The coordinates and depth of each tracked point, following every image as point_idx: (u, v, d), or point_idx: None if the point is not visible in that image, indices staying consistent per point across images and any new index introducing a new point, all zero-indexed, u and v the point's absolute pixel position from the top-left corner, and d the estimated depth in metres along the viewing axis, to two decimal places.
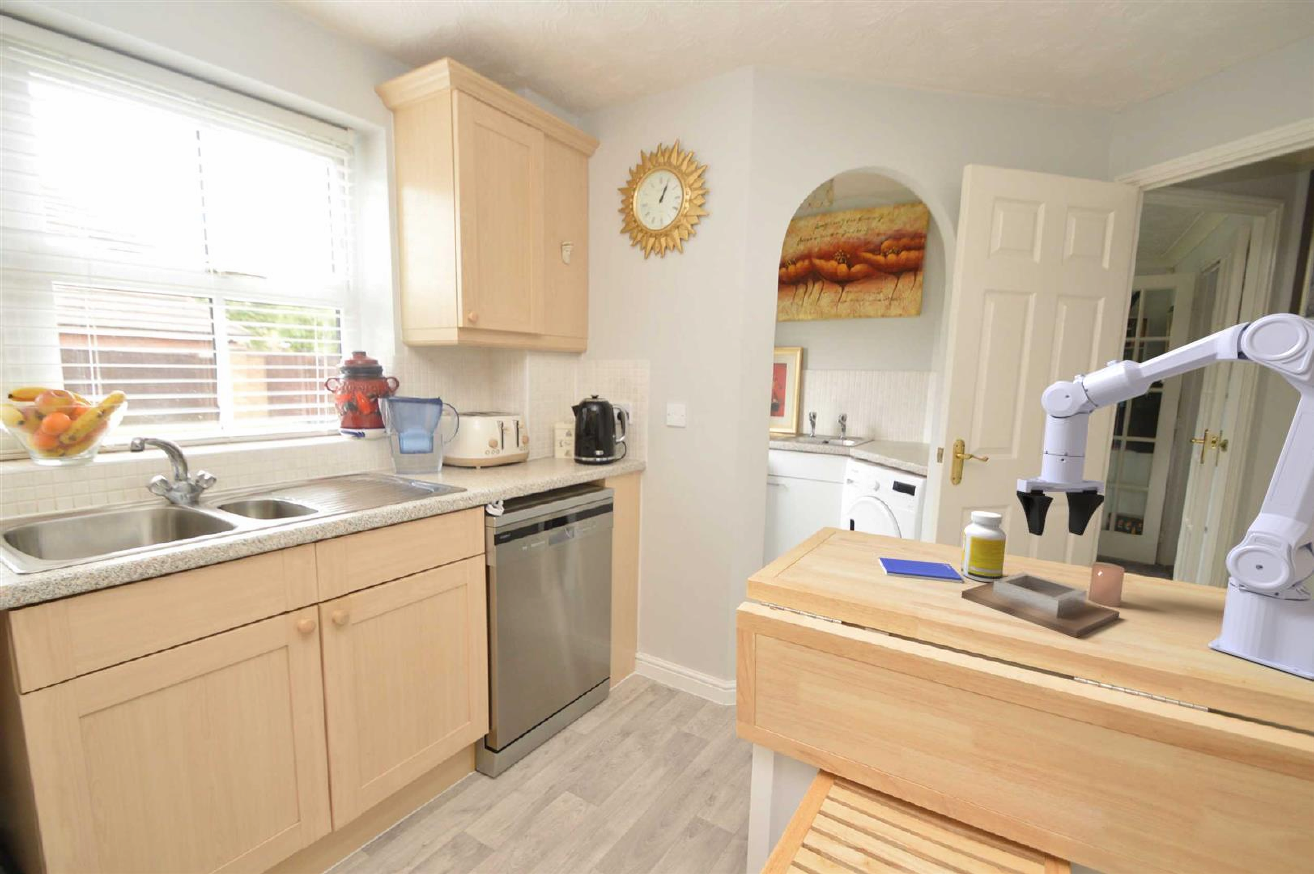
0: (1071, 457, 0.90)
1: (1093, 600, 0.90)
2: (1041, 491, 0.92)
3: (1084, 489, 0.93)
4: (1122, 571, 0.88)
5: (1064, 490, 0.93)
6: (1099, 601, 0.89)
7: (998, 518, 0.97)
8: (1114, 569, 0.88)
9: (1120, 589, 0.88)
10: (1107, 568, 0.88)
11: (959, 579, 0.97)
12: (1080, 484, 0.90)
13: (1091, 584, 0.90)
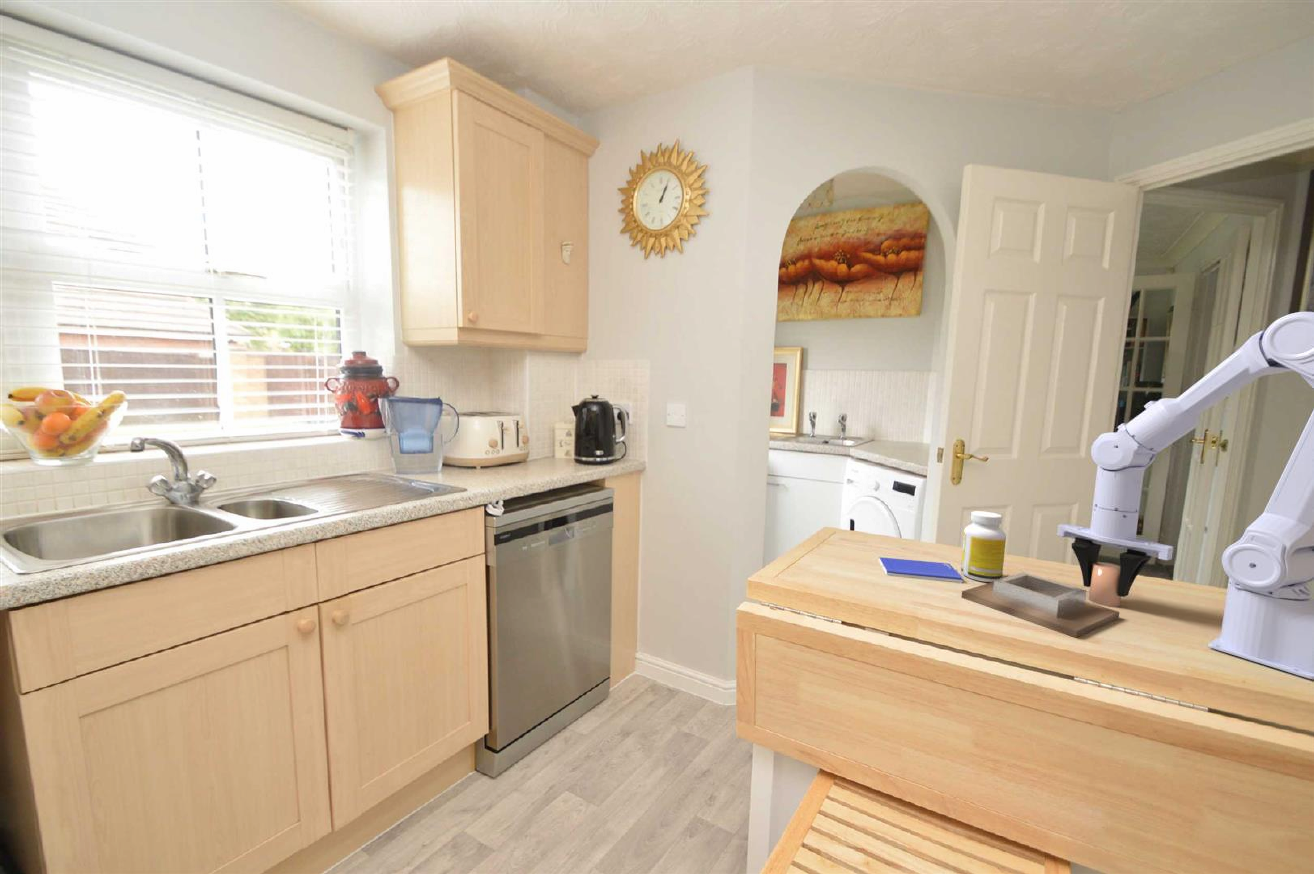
0: (1100, 509, 0.88)
1: (1093, 600, 0.90)
2: (1077, 539, 0.92)
3: (1142, 551, 0.85)
4: None
5: (1113, 546, 0.89)
6: (1099, 601, 0.89)
7: (998, 518, 0.97)
8: (1114, 569, 0.88)
9: None
10: (1107, 568, 0.88)
11: (959, 579, 0.97)
12: (1109, 538, 0.87)
13: (1091, 584, 0.90)
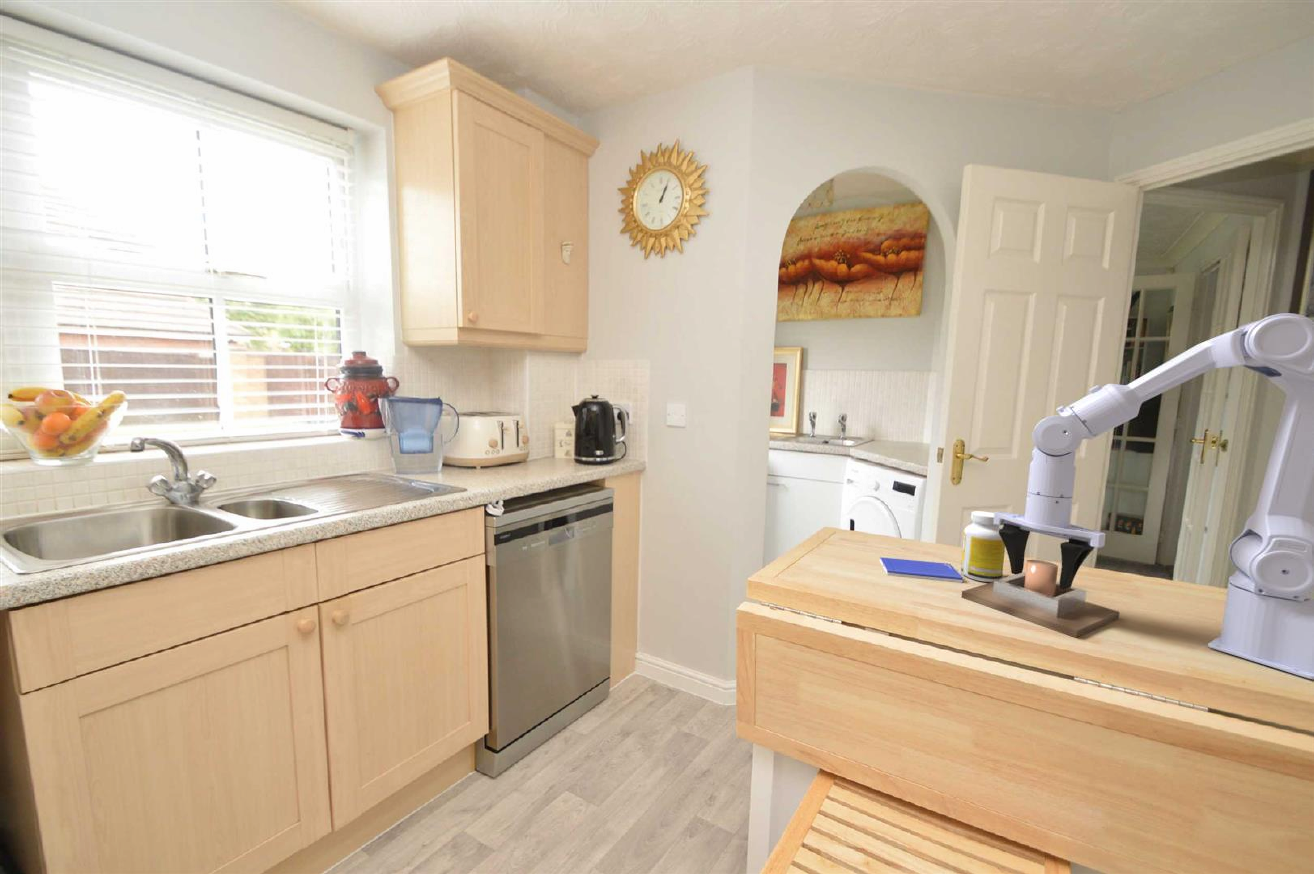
0: (1033, 495, 0.84)
1: None
2: (1013, 527, 0.89)
3: (1075, 538, 0.82)
4: (1055, 569, 0.84)
5: (1047, 533, 0.85)
6: None
7: None
8: (1047, 567, 0.84)
9: (1053, 588, 0.85)
10: (1040, 566, 0.85)
11: (960, 579, 0.97)
12: (1042, 525, 0.83)
13: (1025, 582, 0.87)
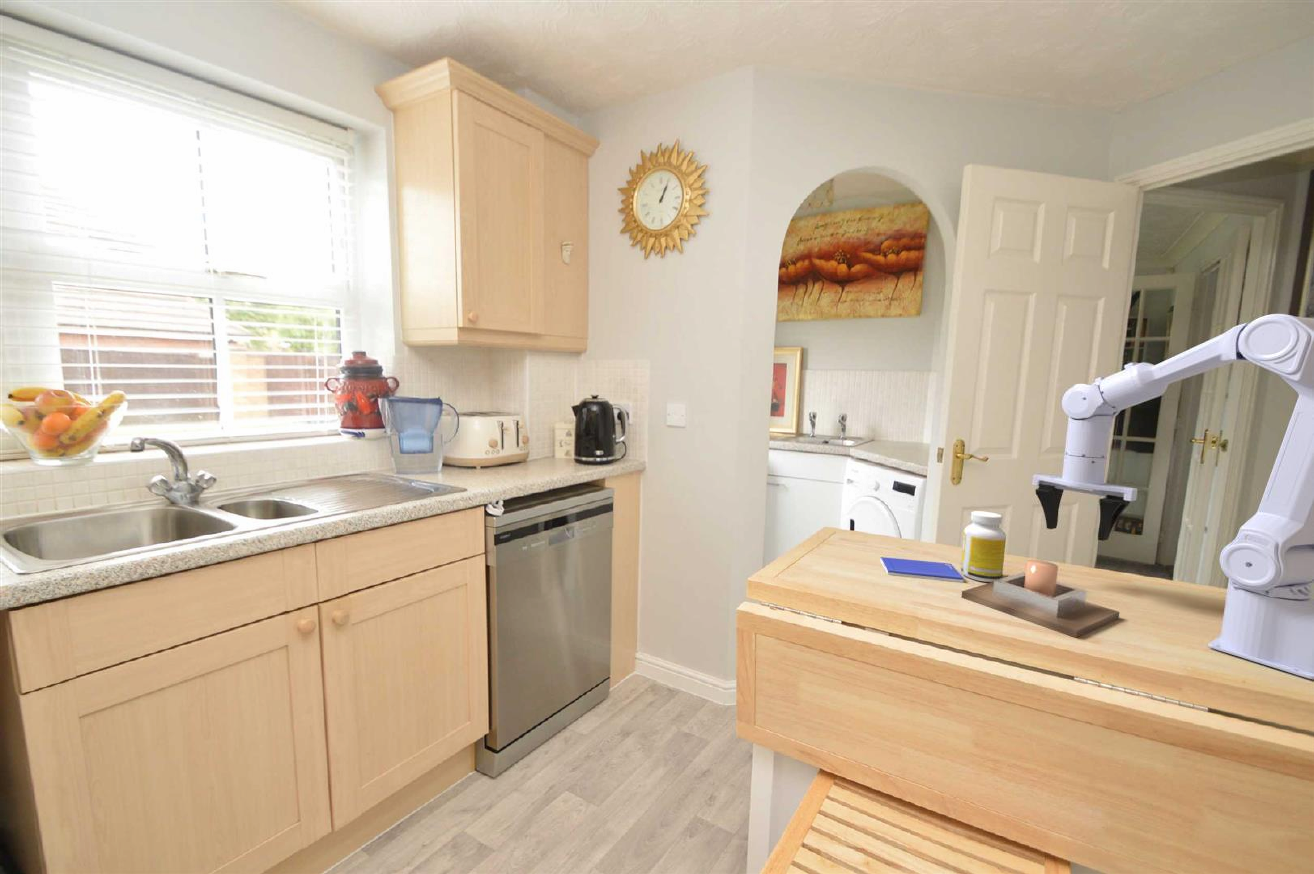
0: (1070, 456, 0.94)
1: None
2: (1051, 487, 0.98)
3: (1109, 494, 0.91)
4: (1055, 569, 0.84)
5: (1083, 491, 0.94)
6: None
7: (998, 518, 0.97)
8: (1047, 567, 0.85)
9: (1053, 588, 0.85)
10: (1040, 566, 0.85)
11: (960, 579, 0.97)
12: (1079, 483, 0.93)
13: (1025, 583, 0.87)
